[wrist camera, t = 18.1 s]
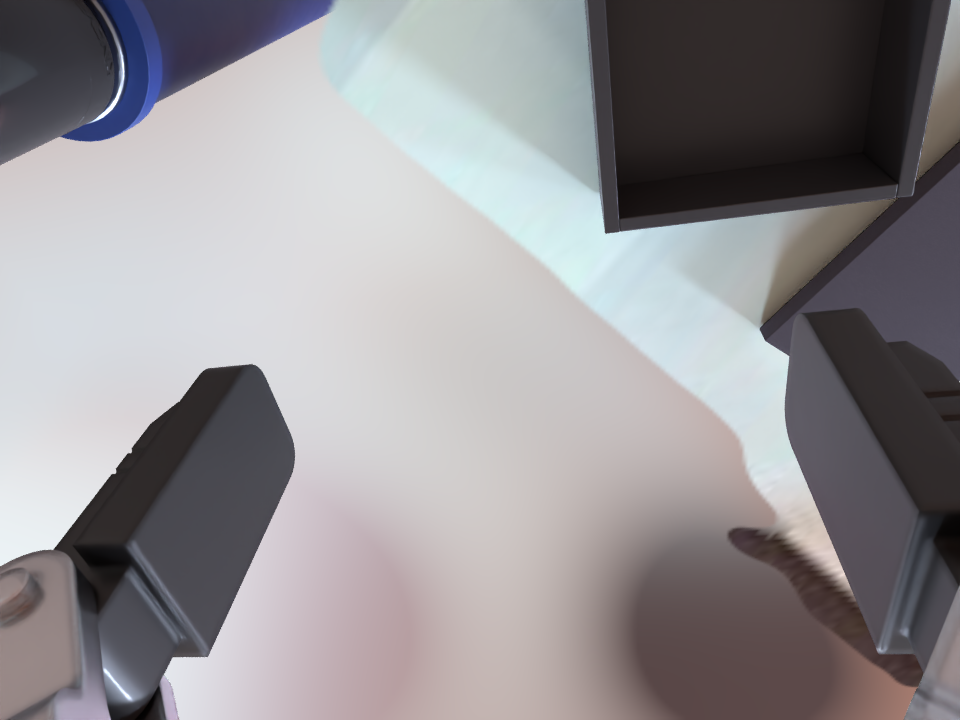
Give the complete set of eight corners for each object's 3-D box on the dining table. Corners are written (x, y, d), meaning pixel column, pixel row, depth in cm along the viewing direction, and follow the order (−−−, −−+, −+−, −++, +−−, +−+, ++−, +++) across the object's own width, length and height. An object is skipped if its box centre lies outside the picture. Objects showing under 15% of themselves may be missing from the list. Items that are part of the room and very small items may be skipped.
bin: (600, 196, 41) (605, 234, 37) (572, -155, 31) (575, -163, 27) (871, 160, 38) (913, 196, 34) (933, -237, 29) (1003, -262, 24)
